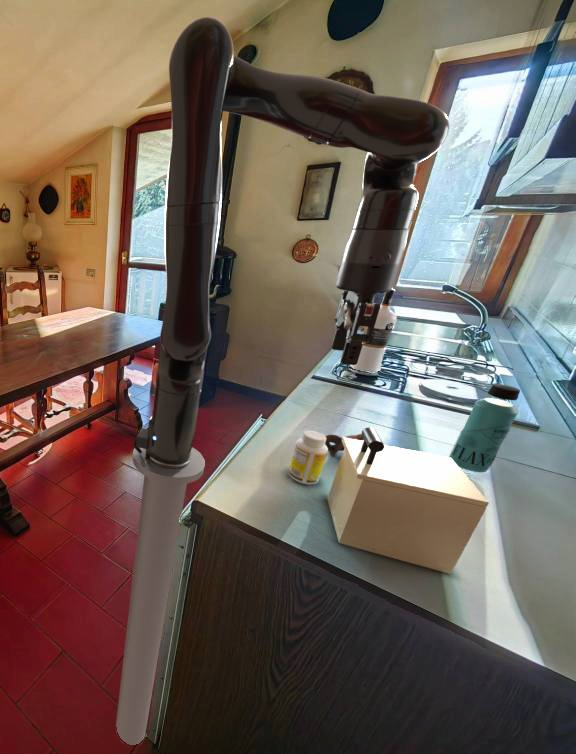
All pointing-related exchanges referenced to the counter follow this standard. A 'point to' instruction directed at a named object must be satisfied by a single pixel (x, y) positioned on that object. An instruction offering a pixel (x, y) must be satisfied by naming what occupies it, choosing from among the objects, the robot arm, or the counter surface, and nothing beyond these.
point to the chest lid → (409, 469)
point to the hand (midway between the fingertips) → (342, 356)
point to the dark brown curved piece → (338, 443)
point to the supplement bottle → (308, 458)
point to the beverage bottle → (485, 429)
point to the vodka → (377, 339)
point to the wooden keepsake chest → (400, 520)
